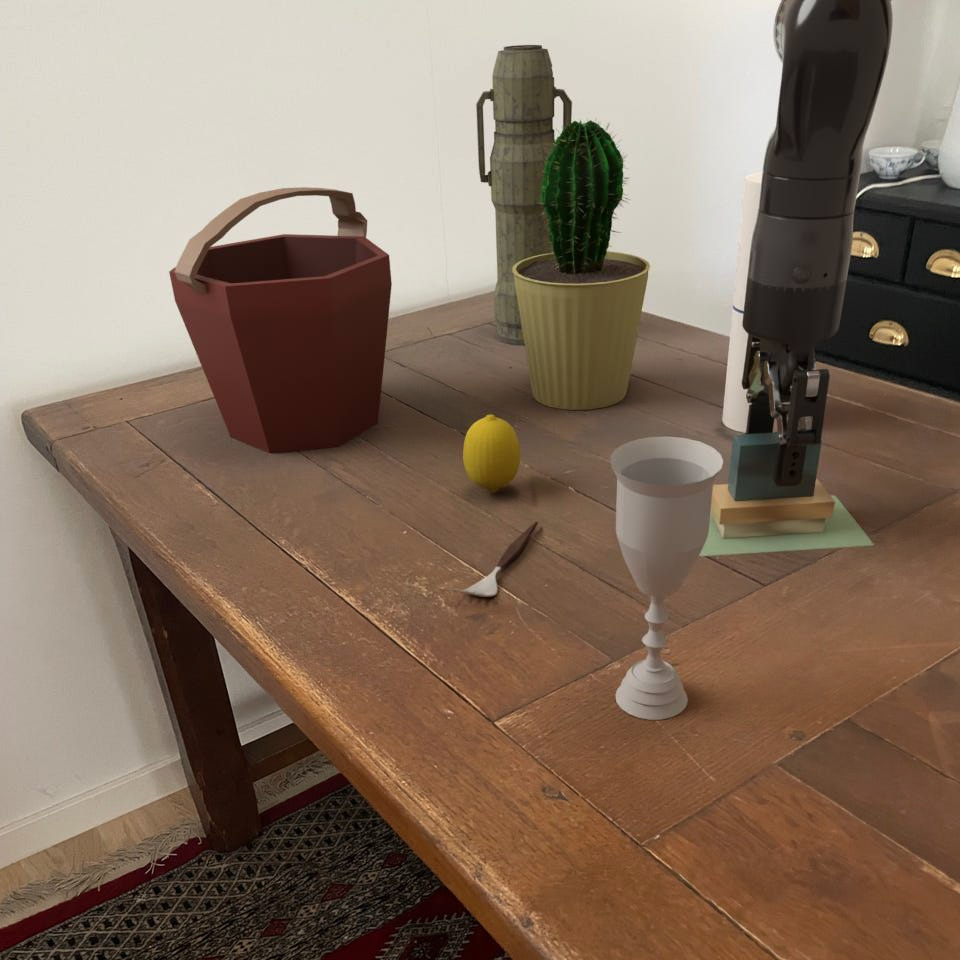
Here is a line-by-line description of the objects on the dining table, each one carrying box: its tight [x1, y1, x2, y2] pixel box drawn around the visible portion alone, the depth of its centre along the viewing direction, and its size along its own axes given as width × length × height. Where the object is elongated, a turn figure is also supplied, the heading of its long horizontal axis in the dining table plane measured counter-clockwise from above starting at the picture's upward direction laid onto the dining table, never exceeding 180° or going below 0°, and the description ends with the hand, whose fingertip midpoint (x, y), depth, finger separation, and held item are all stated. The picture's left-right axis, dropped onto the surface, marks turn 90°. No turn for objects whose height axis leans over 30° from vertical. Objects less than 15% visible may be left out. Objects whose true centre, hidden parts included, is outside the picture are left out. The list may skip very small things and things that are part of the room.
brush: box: [711, 432, 835, 538], centre depth 90 cm, size 10×5×8 cm, turn 93°
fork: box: [451, 521, 539, 598], centre depth 88 cm, size 3×16×2 cm, turn 156°
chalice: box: [609, 435, 724, 721], centre depth 67 cm, size 7×7×18 cm
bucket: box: [168, 186, 393, 454], centre depth 111 cm, size 24×22×25 cm
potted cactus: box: [512, 118, 651, 411], centre depth 115 cm, size 15×15×30 cm
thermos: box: [475, 44, 573, 346], centre depth 133 cm, size 9×12×35 cm
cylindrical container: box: [721, 171, 790, 434], centre depth 106 cm, size 7×7×25 cm
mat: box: [698, 494, 875, 558], centre depth 92 cm, size 16×10×1 cm, turn 93°
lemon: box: [462, 414, 521, 494], centre depth 99 cm, size 6×6×8 cm
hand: (771, 463), depth 89 cm, fingers open, 8 cm apart
